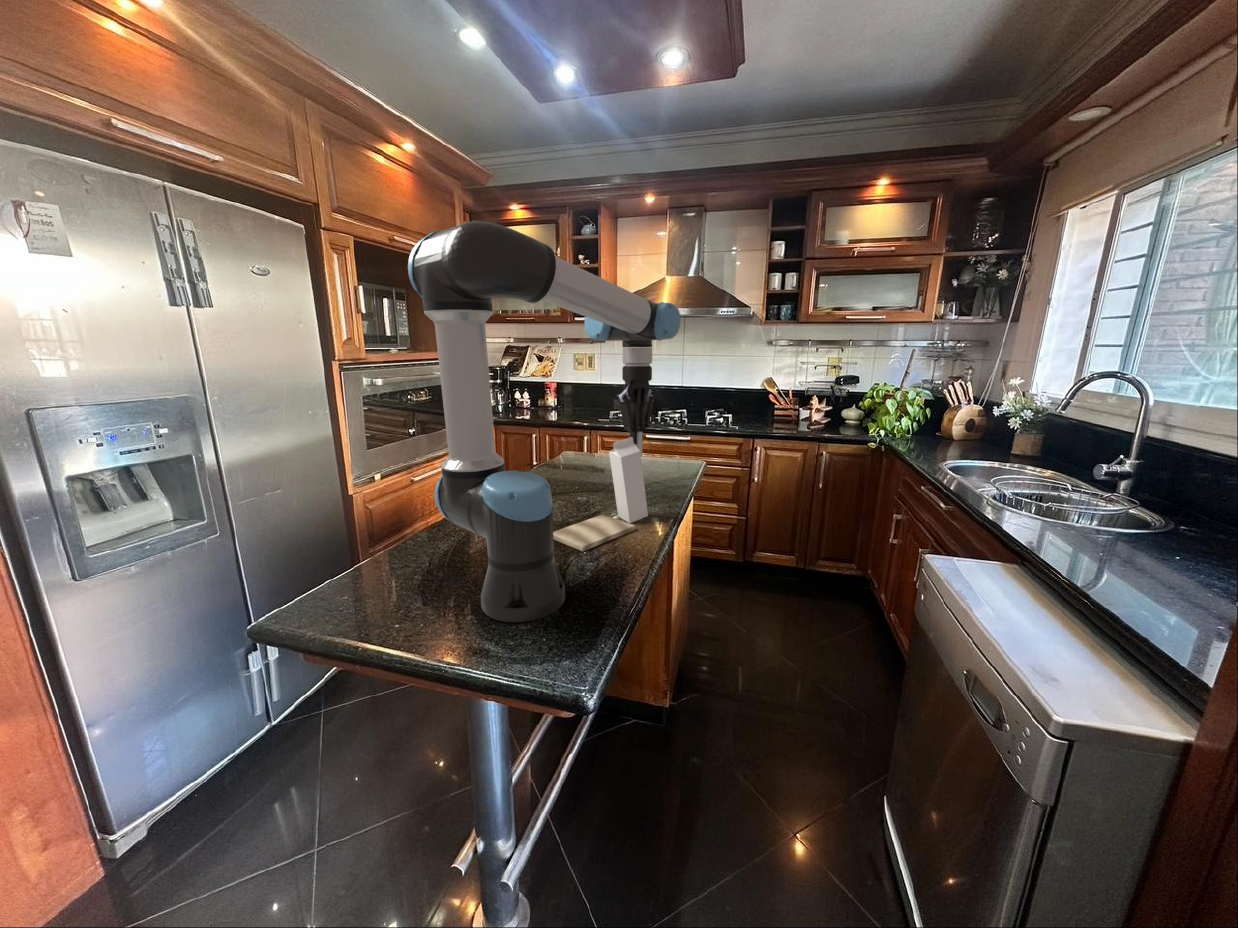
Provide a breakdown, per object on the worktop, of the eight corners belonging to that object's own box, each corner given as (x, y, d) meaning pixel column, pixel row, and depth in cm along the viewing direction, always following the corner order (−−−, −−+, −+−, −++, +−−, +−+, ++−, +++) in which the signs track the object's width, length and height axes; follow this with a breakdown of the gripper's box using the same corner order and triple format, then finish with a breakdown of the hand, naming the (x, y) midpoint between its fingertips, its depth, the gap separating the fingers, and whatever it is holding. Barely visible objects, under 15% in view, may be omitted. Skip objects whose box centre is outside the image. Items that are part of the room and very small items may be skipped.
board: (582, 551, 109) (582, 546, 109) (549, 537, 117) (549, 533, 117) (635, 529, 122) (635, 525, 122) (601, 518, 130) (601, 514, 130)
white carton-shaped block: (618, 516, 131) (606, 440, 123) (636, 508, 134) (626, 434, 126) (630, 524, 126) (618, 445, 118) (648, 515, 129) (639, 438, 121)
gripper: (642, 364, 128) (641, 450, 134) (608, 365, 119) (609, 457, 125) (664, 364, 123) (663, 453, 129) (631, 366, 114) (630, 462, 120)
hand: (636, 455), depth 127 cm, fingers closed
